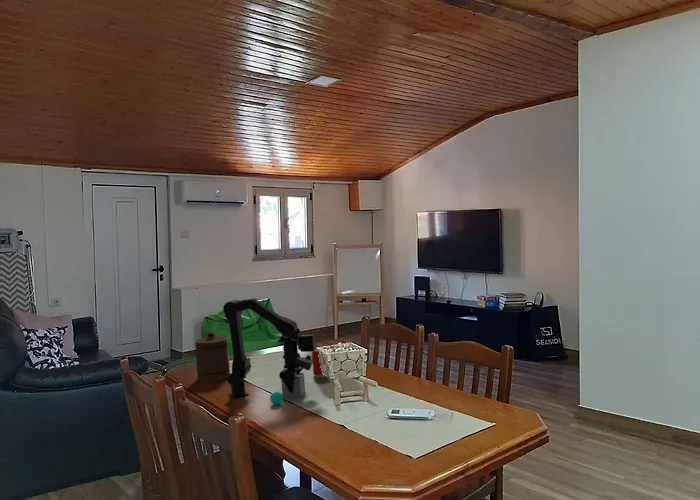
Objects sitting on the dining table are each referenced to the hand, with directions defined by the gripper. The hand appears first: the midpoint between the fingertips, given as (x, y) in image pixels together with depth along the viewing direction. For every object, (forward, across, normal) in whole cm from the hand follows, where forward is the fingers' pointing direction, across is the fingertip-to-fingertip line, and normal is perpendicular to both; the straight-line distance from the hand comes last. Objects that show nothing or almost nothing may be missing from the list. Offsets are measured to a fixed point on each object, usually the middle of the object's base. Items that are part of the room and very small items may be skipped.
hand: (293, 389), depth 241 cm
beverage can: (+2, +28, -6) cm, 28 cm away
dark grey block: (+2, 0, 0) cm, 2 cm away
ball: (0, -12, +4) cm, 13 cm away
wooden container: (+2, +29, +45) cm, 54 cm away
